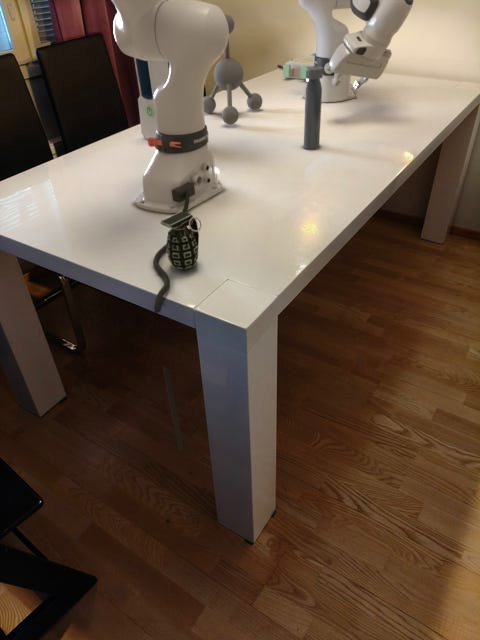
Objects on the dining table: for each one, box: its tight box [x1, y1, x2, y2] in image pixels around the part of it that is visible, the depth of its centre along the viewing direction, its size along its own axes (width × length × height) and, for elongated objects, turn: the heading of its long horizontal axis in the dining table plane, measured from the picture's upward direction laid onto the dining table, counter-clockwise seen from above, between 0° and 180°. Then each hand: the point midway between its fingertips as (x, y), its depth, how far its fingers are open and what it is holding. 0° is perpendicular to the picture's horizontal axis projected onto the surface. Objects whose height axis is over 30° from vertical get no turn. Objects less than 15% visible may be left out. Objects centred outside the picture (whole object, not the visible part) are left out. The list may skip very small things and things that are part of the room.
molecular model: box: [203, 13, 263, 125], centre depth 160 cm, size 24×22×30 cm
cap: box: [306, 66, 323, 79], centre depth 128 cm, size 4×4×2 cm
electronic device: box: [133, 57, 170, 140], centre depth 143 cm, size 12×8×30 cm, turn 47°
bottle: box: [303, 79, 323, 151], centre depth 134 cm, size 4×4×20 cm
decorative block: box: [282, 52, 316, 80], centre depth 211 cm, size 26×6×20 cm
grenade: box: [159, 211, 202, 271], centre depth 88 cm, size 7×6×10 cm
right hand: (345, 86), depth 156 cm, fingers open, 8 cm apart
